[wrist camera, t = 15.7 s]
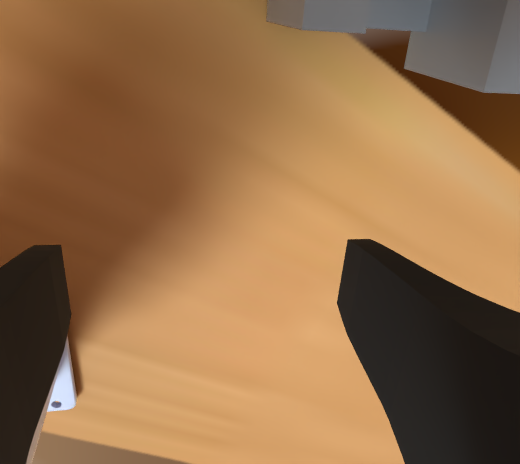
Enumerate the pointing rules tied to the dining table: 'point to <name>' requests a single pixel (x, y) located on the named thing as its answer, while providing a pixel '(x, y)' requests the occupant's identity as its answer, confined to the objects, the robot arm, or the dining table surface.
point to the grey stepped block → (428, 34)
